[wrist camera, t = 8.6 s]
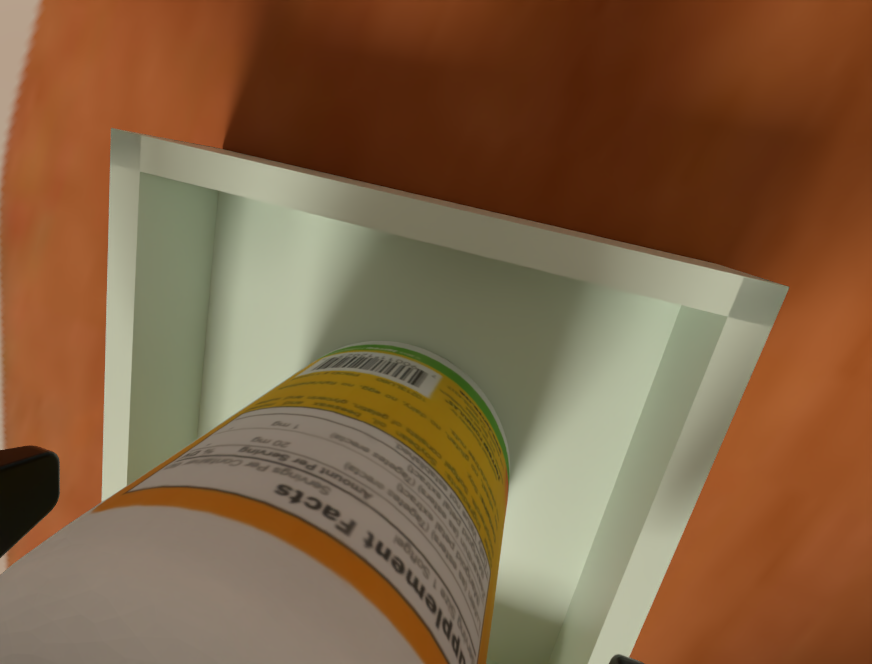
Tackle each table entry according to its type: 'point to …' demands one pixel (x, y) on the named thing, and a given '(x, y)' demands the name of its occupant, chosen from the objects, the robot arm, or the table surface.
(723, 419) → the tray
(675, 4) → the table surface
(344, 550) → the supplement bottle
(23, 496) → the robot arm
